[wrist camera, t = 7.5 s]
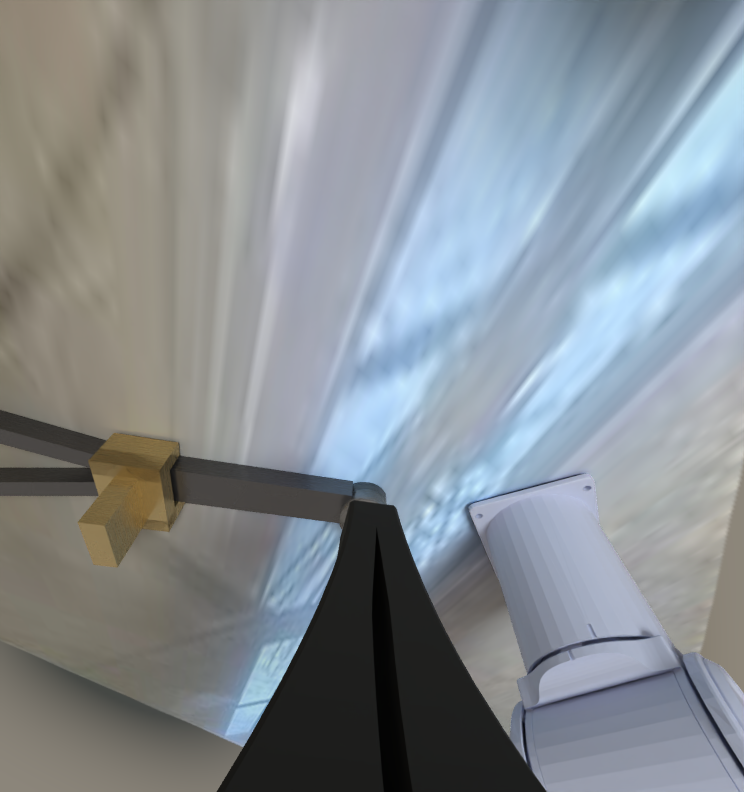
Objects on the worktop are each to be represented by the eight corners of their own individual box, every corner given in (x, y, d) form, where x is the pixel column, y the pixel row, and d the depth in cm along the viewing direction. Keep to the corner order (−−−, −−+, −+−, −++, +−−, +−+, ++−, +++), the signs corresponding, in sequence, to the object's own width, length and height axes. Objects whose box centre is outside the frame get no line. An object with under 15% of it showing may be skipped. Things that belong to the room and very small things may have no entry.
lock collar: (178, 442, 21) (127, 517, 17) (185, 502, 24) (143, 579, 20) (114, 432, 21) (44, 506, 17) (128, 494, 24) (73, 571, 19)
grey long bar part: (402, 451, 22) (405, 475, 20) (371, 541, 27) (371, 566, 25) (-152, 363, 19) (-203, 383, 17) (-70, 484, 24) (-104, 509, 22)
